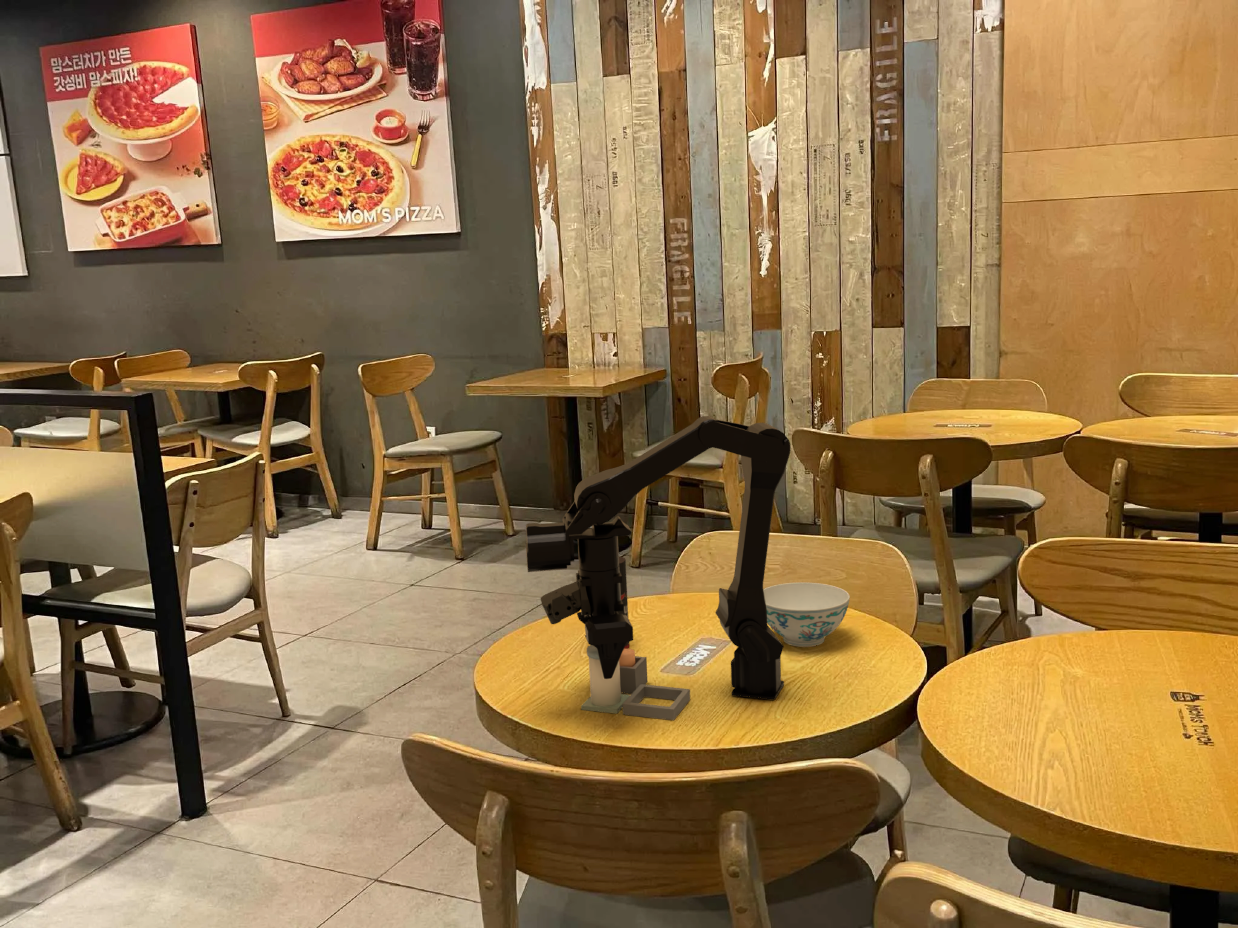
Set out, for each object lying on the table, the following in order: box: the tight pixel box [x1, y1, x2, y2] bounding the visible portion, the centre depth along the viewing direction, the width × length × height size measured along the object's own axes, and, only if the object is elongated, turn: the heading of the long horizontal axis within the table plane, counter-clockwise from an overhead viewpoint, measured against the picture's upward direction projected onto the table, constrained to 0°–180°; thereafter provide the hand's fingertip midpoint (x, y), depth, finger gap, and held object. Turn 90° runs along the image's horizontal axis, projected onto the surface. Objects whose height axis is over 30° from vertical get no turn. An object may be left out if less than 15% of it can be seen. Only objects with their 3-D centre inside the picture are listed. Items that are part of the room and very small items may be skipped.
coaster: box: [580, 693, 631, 714], centre depth 160 cm, size 6×6×1 cm
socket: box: [622, 684, 691, 721], centre depth 158 cm, size 8×8×2 cm
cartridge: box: [586, 645, 622, 706], centre depth 159 cm, size 5×5×8 cm
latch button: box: [619, 648, 636, 667], centre depth 166 cm, size 3×3×4 cm
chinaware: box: [763, 581, 851, 648], centre depth 182 cm, size 15×15×8 cm
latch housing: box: [620, 655, 649, 695], centre depth 166 cm, size 5×5×4 cm
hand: (604, 670), depth 159 cm, fingers open, 6 cm apart
